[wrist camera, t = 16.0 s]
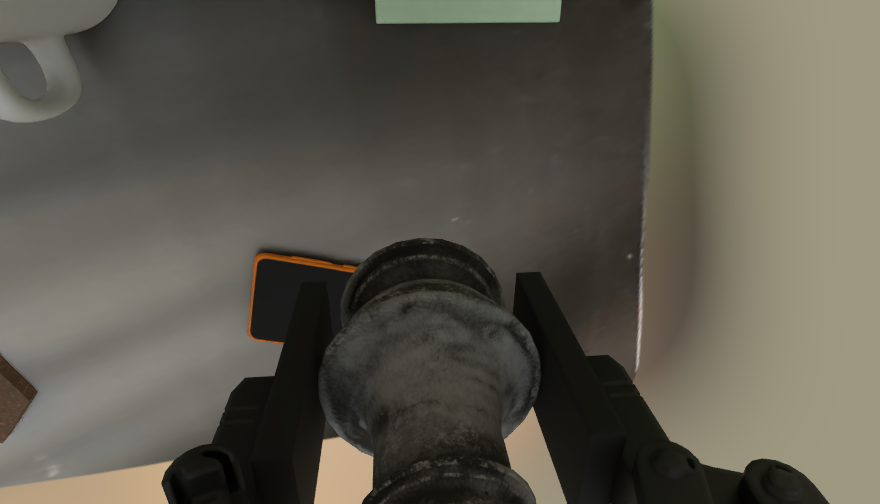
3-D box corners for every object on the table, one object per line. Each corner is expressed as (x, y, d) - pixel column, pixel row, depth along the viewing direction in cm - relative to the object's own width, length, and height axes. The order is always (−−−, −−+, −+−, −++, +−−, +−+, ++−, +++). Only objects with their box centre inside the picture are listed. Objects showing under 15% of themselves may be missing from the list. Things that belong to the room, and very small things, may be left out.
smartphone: (458, 362, 42) (459, 369, 41) (248, 333, 38) (246, 340, 38) (484, 285, 38) (486, 291, 38) (257, 246, 35) (254, 252, 34)
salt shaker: (535, 246, 16) (853, 790, 5) (484, 389, 18) (623, 952, 8) (345, 212, 14) (234, 820, 4) (319, 370, 17) (209, 997, 6)
